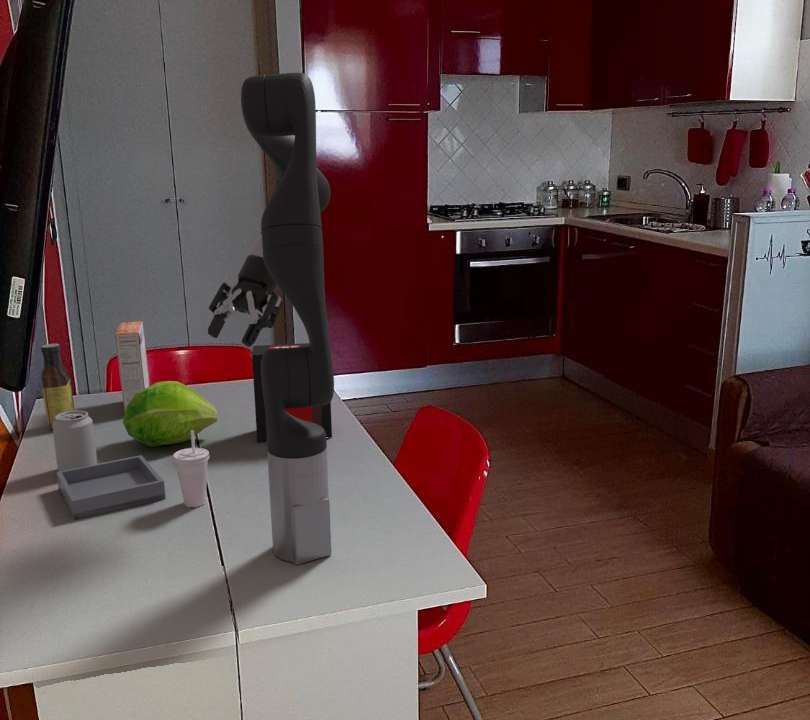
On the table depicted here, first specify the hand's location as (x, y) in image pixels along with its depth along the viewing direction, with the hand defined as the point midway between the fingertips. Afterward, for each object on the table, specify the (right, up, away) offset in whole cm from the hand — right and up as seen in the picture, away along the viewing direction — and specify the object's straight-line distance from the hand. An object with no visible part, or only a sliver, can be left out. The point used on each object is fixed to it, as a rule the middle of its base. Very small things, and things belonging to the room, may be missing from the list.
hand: (228, 340), depth 146 cm
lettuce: (-20, -22, +33) cm, 44 cm away
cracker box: (-36, -16, +59) cm, 71 cm away
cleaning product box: (+7, -21, +38) cm, 43 cm away
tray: (-23, -29, +6) cm, 38 cm away
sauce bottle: (-49, -20, +44) cm, 69 cm away
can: (-34, -26, +18) cm, 47 cm away
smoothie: (-6, -30, +1) cm, 31 cm away
